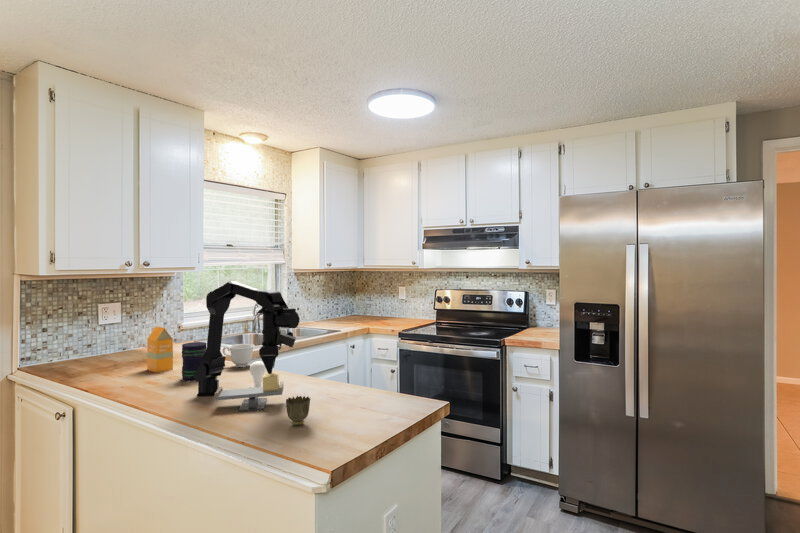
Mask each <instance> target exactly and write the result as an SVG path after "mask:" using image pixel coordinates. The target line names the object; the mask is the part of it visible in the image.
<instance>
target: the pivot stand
mask: <svg viewBox="0 0 800 533" xmlns="http://www.w3.org/2000/svg"><path fill="white" fill-rule="evenodd" d="M267 401H268V398H267V397H261V398H259V397H251V398H243V400H242V403H241V405H240V407H239V408H238V412H240V413H241V412H255V411H257V410H259V411H264V410H265V407H266V404H267Z"/></svg>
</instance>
